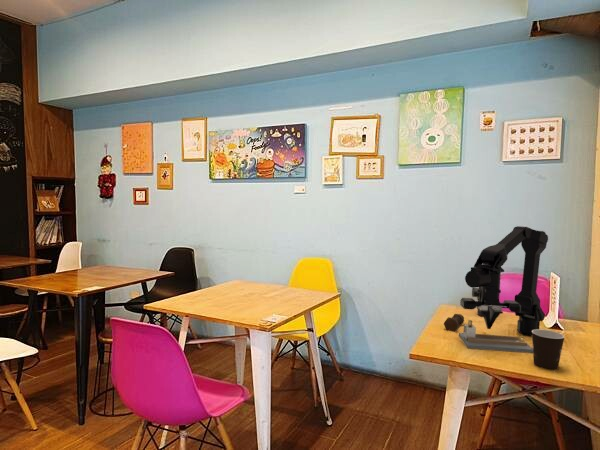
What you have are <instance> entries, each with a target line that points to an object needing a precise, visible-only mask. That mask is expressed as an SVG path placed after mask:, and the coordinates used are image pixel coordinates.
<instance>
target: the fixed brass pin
mask: <svg viewBox="0 0 600 450" xmlns="http://www.w3.org/2000/svg"><path fill="white" fill-rule="evenodd" d="M518 337H519V342H526V338H525V337H522V336H518Z"/></svg>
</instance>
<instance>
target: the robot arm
mask: <svg viewBox="0 0 600 450" xmlns="http://www.w3.org/2000/svg"><path fill="white" fill-rule="evenodd" d="M548 241H549V236H548V235H547V233H546V231H544V230H537V229H533V228H530V227H528V226H522V225H521V226H518V225H516V226H514V227H513V230H511V232H509V233H508V234H507V235H505V237H503V238H502V239H501V240H500V241H498V243H496V244H493V245H489V246H487V247H485V248H483V249H482V250H481V252H480V253H479V255H478V258H477V259H476V261H475V263H474V265H473V266H472V267H470V271H467V273H466V275H465V276H464V280H465V283H466V285H467V286H468V287H470V288H472V289H471V296H472V297H461V298H460V300H459V301H460V302H459V304H460V307H461V308H463V310H475V309H477V310H479V311H480V312H482V314H483V319H484V323H485V326H486V329H487V330H491V329H492V326H493V325H494V324H495V321H496V320H497V318H498V317H499V316H500V314H504V311H502V310H503V309H508V310H509V311H510V312H511V313H514V314H515V316H517V317H518V320H517V322H516V323H517V326H516V327H517V328H516V331H517V332H518V333H520V334H521V336H525V337H526V336H527V337H528V336H530V337H532V330H536V329H540V326H541V325H540V322H543V321H544V320H545V317H546V313H545V312H544V310H543V309H542V307H541V299H540V298H539V295H538V294H537V287H538V278H539V271H540V270H539V268H540V261H541V260H540V259H541V255H542V253H543V252H544V251H545V249H547V243H548ZM519 245H521V247H522V249H523V251H524V263H523V272H522V281H521V290H520V291H519V292H518V294H515V295H514V300H510V299H509V300H508V299H507V300H506V299H504V300H503V302H501V301H500V293H501V292H502V291H501V273H504V272H505V269H504V268H503V265H505V263H506V262H507V261H508V255H510V253H511V252H512V251H513V250H514V249H515V248H516V247H518V246H519ZM479 287H481V290H479ZM473 298H477V299H476V300H475V299H473ZM478 300H481V301H478ZM484 304H488V305H484ZM488 307H489V310H488Z"/></svg>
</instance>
